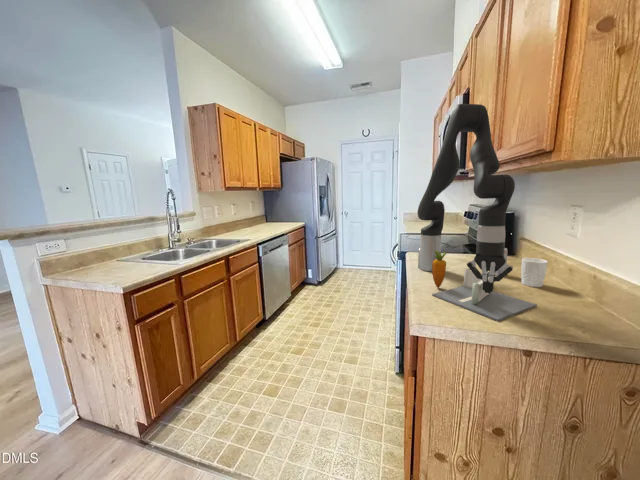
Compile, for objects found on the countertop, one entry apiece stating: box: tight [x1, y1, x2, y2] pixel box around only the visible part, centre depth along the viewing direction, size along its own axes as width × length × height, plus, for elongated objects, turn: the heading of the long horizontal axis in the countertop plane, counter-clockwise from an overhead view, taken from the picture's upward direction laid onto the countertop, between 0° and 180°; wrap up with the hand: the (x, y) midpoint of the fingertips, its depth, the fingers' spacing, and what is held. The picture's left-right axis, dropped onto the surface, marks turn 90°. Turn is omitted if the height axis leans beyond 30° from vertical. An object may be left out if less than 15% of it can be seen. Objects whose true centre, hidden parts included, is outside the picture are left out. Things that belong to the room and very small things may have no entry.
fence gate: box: [471, 277, 489, 304], centre depth 89 cm, size 13×2×7 cm, turn 132°
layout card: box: [431, 285, 538, 322], centre depth 90 cm, size 23×21×1 cm
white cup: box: [520, 257, 549, 288], centre depth 103 cm, size 8×8×10 cm
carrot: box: [431, 250, 447, 289], centre depth 102 cm, size 5×5×15 cm
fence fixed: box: [462, 267, 491, 294], centre depth 98 cm, size 10×2×8 cm, turn 26°
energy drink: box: [495, 247, 509, 277], centre depth 117 cm, size 5×5×12 cm
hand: (487, 292), depth 85 cm, fingers closed
